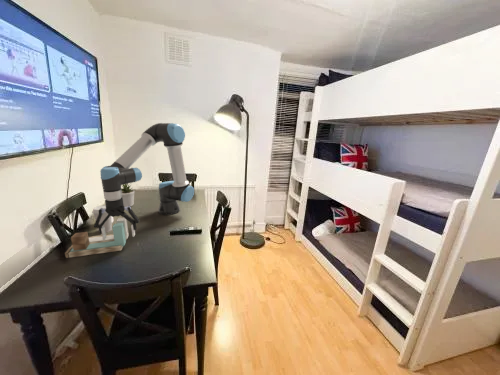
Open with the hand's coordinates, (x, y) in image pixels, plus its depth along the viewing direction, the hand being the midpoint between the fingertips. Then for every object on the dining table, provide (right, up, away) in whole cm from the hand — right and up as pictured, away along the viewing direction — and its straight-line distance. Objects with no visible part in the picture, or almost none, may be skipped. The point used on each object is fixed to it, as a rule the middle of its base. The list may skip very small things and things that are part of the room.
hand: (119, 237), depth 111 cm
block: (-16, -4, -5) cm, 17 cm away
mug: (-26, +2, +26) cm, 37 cm away
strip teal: (-9, -5, -2) cm, 10 cm away
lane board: (-11, -5, +2) cm, 12 cm away
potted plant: (-31, +11, +60) cm, 69 cm away
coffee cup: (-20, 0, +18) cm, 27 cm away
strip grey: (-11, -3, +5) cm, 13 cm away
